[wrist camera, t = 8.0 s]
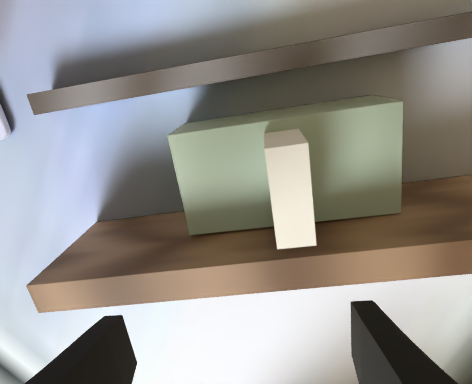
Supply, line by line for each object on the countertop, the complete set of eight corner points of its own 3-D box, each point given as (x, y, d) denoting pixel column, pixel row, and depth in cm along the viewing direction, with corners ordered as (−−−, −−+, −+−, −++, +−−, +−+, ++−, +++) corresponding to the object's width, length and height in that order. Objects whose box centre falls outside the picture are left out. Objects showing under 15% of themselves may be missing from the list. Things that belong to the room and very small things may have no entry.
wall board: (103, 243, 21) (38, 313, 15) (51, 92, 18) (-59, 102, 12) (505, 195, 18) (631, 259, 12) (529, 3, 15) (717, -45, 9)
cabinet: (203, 204, 20) (174, 269, 13) (186, 122, 18) (144, 151, 12) (372, 184, 18) (433, 246, 12) (372, 94, 17) (442, 109, 10)
